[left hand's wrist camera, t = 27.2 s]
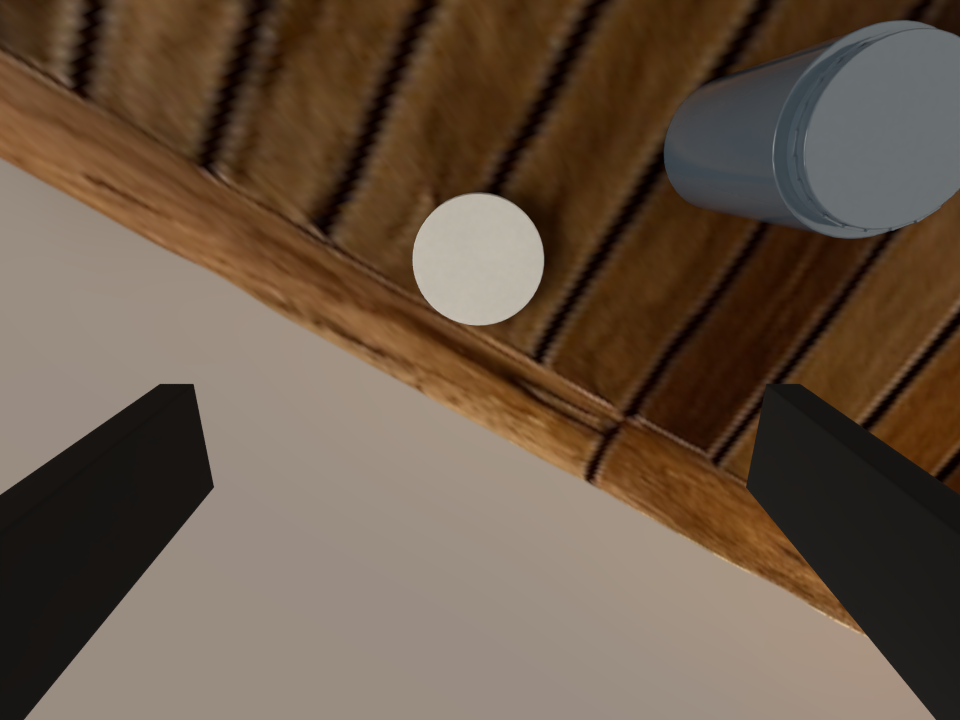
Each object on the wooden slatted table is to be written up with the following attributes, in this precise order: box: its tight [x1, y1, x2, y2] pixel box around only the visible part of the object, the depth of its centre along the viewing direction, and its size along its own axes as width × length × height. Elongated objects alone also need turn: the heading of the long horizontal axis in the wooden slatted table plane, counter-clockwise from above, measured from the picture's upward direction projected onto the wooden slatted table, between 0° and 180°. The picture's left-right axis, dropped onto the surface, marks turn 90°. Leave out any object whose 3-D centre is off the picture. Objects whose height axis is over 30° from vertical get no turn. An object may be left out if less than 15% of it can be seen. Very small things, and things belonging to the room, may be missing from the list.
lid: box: [413, 192, 544, 325], centre depth 37 cm, size 9×9×2 cm
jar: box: [664, 20, 960, 239], centre depth 28 cm, size 8×8×15 cm
